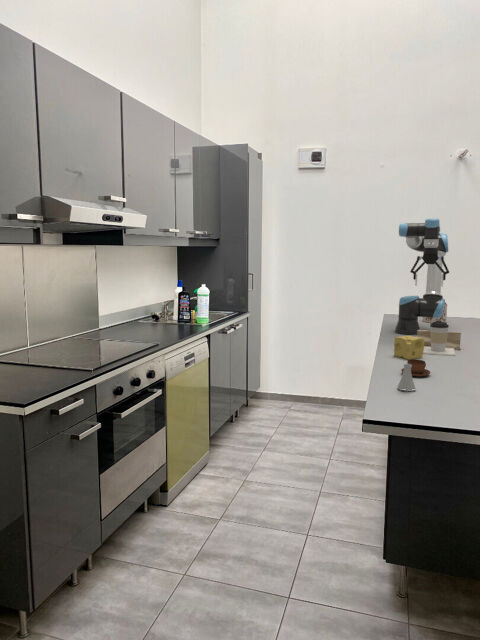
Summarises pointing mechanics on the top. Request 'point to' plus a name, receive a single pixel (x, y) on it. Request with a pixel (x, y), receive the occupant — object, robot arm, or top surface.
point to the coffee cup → (438, 335)
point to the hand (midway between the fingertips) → (428, 286)
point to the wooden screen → (452, 339)
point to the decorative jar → (442, 318)
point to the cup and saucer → (418, 368)
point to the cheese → (409, 347)
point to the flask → (406, 378)
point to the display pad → (447, 351)
